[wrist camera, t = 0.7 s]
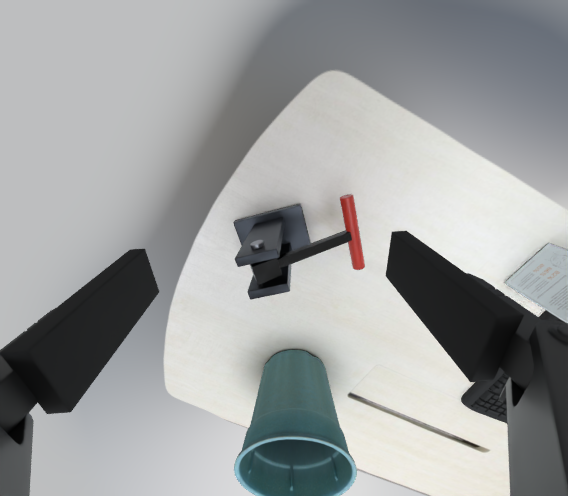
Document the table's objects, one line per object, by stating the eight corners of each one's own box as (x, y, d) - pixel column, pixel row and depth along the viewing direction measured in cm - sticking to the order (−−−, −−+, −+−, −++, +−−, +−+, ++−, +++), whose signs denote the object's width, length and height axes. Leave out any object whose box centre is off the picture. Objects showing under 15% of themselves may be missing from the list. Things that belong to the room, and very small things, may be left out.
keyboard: (574, 280, 37) (589, 287, 35) (632, 302, 38) (649, 310, 36) (457, 401, 48) (463, 411, 46) (504, 415, 49) (512, 426, 47)
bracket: (300, 203, 34) (302, 232, 22) (311, 247, 37) (318, 294, 25) (235, 220, 36) (204, 256, 24) (249, 261, 38) (229, 312, 26)
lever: (346, 193, 28) (358, 195, 25) (358, 261, 31) (369, 268, 29) (237, 231, 25) (240, 236, 23) (262, 300, 28) (267, 311, 26)
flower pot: (352, 356, 45) (380, 459, 30) (316, 408, 51) (324, 516, 36) (270, 328, 43) (257, 422, 28) (243, 386, 49) (220, 488, 34)
